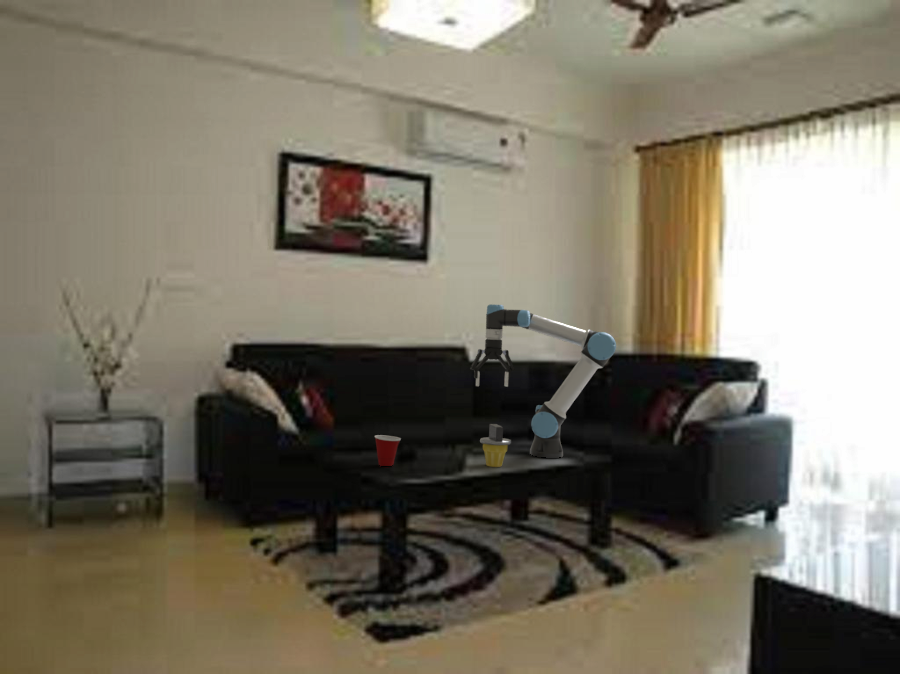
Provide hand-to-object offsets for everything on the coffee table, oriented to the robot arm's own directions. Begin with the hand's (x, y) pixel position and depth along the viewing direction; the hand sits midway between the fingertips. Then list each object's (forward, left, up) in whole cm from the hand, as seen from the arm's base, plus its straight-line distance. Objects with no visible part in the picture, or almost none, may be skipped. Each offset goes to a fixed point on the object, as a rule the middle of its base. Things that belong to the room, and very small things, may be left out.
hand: (491, 386), depth 360 cm
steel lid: (+4, +22, -22) cm, 31 cm away
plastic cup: (+50, +23, -32) cm, 64 cm away
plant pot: (+4, +22, -32) cm, 39 cm away
